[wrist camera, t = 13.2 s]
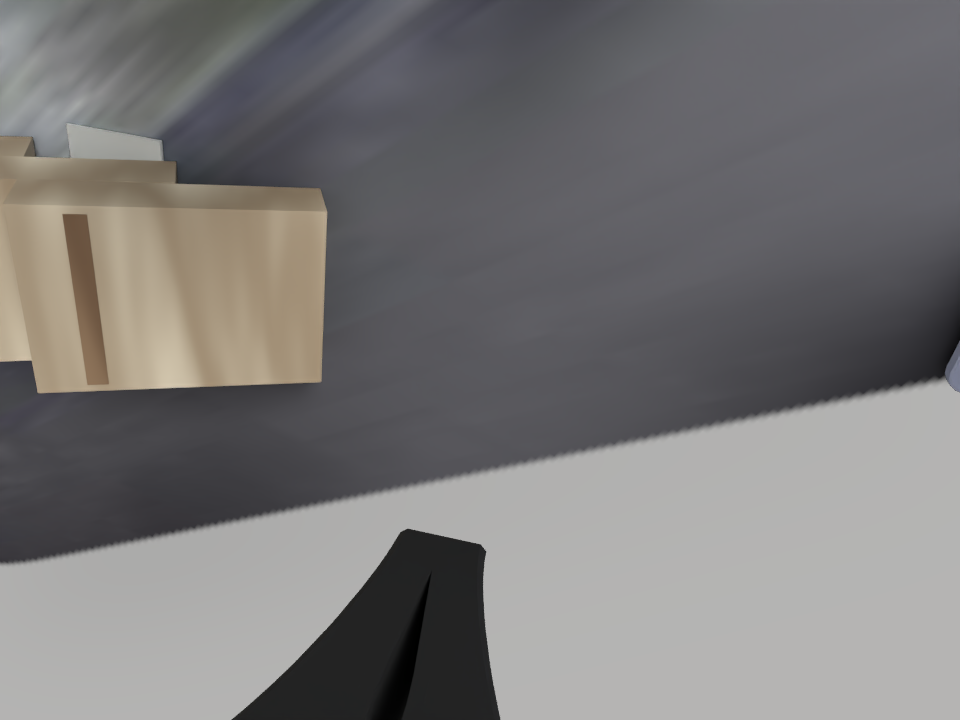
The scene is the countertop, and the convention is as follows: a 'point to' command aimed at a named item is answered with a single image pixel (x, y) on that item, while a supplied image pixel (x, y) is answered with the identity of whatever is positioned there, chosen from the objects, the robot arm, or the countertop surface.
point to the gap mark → (111, 144)
